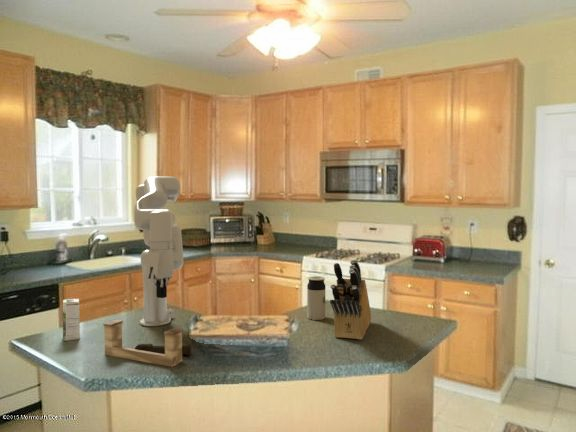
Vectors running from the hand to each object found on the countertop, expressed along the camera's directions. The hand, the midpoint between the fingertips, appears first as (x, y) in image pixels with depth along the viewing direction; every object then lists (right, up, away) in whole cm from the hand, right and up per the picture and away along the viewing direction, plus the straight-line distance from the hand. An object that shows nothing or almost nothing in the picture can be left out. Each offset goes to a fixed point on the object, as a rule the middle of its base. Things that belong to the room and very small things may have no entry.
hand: (161, 297), depth 160 cm
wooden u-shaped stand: (-4, -19, -9) cm, 21 cm away
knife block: (+70, -18, +19) cm, 74 cm away
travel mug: (+57, -17, +40) cm, 72 cm away
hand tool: (+2, -19, -7) cm, 21 cm away
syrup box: (-38, -18, +12) cm, 43 cm away
